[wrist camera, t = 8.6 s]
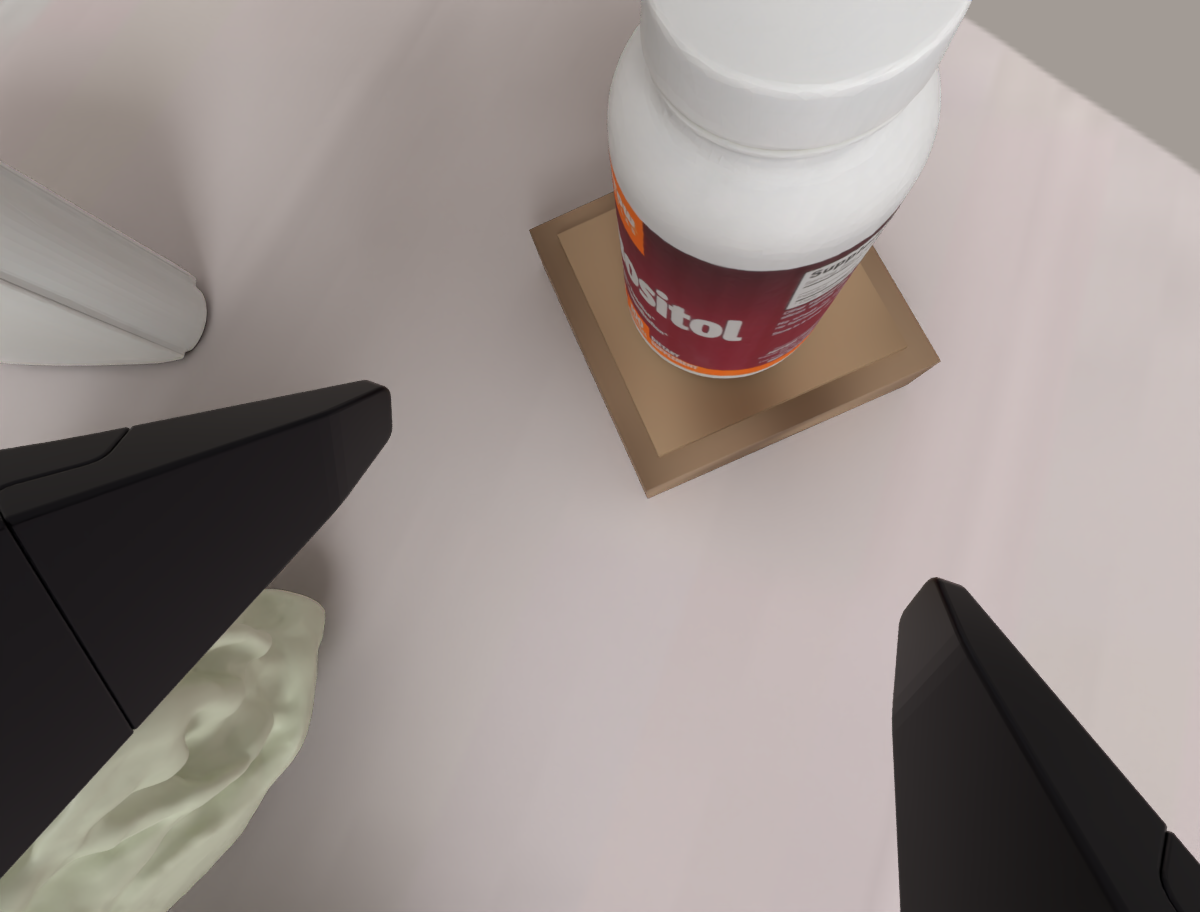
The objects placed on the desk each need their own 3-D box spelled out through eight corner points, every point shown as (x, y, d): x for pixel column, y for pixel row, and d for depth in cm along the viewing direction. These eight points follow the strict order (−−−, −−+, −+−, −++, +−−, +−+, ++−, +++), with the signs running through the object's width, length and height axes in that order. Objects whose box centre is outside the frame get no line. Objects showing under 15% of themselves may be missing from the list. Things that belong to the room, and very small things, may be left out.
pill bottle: (587, 289, 19) (497, -50, 8) (727, 171, 20) (810, -306, 9) (716, 425, 18) (800, 229, 7) (863, 297, 18) (1155, -76, 8)
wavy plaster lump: (230, 826, 27) (-414, 1428, 13) (70, 589, 26) (-812, 950, 12) (518, 730, 19) (-270, 1930, 5) (306, 393, 18) (-1317, 733, 4)
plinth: (647, 498, 21) (645, 489, 18) (543, 265, 23) (527, 225, 20) (906, 384, 20) (945, 357, 18) (778, 158, 22) (795, 103, 20)
